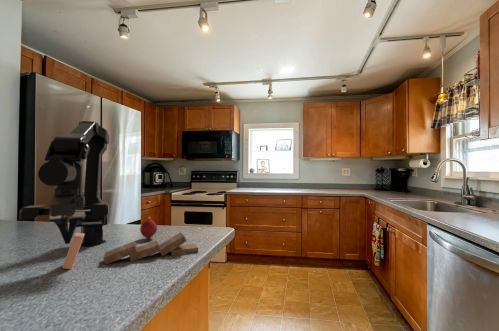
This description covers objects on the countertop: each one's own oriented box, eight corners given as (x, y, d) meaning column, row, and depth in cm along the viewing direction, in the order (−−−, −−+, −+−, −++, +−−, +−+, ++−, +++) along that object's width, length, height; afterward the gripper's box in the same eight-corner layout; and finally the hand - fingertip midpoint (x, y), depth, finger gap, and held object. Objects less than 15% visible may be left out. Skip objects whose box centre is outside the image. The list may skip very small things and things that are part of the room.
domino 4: (171, 250, 76) (198, 247, 80) (169, 246, 81) (194, 243, 84) (171, 257, 76) (198, 254, 80) (169, 252, 81) (194, 249, 84)
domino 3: (159, 250, 75) (183, 235, 78) (157, 246, 79) (180, 232, 83) (162, 256, 75) (186, 241, 79) (160, 251, 80) (183, 237, 83)
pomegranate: (151, 241, 92) (151, 218, 92) (136, 240, 93) (137, 218, 93) (159, 237, 98) (160, 216, 98) (146, 236, 99) (146, 215, 99)
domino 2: (128, 255, 71) (158, 244, 74) (129, 249, 75) (157, 240, 79) (130, 261, 71) (160, 251, 74) (130, 256, 75) (158, 246, 79)
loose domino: (62, 268, 64) (73, 236, 66) (65, 261, 69) (76, 232, 70) (71, 269, 65) (82, 237, 66) (74, 262, 70) (84, 233, 71)
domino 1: (103, 258, 68) (134, 245, 71) (105, 252, 73) (134, 240, 76) (105, 264, 68) (136, 252, 71) (107, 258, 73) (137, 247, 76)
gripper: (10, 186, 56) (8, 257, 56) (107, 184, 64) (105, 247, 64) (28, 184, 66) (26, 244, 66) (110, 183, 74) (108, 237, 74)
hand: (67, 243), depth 67 cm, fingers closed
